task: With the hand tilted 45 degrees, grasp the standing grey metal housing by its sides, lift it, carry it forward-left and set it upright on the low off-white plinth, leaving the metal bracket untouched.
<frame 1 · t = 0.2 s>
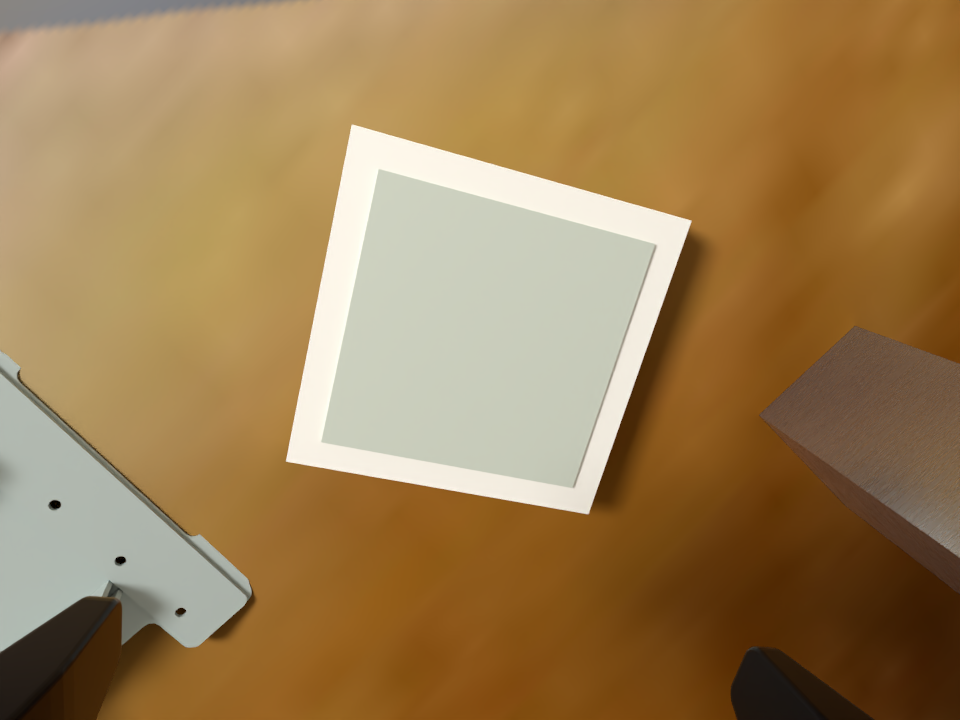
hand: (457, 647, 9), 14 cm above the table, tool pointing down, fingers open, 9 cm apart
housing: (850, 420, 26), on the table
plinth: (477, 327, 22), on the table
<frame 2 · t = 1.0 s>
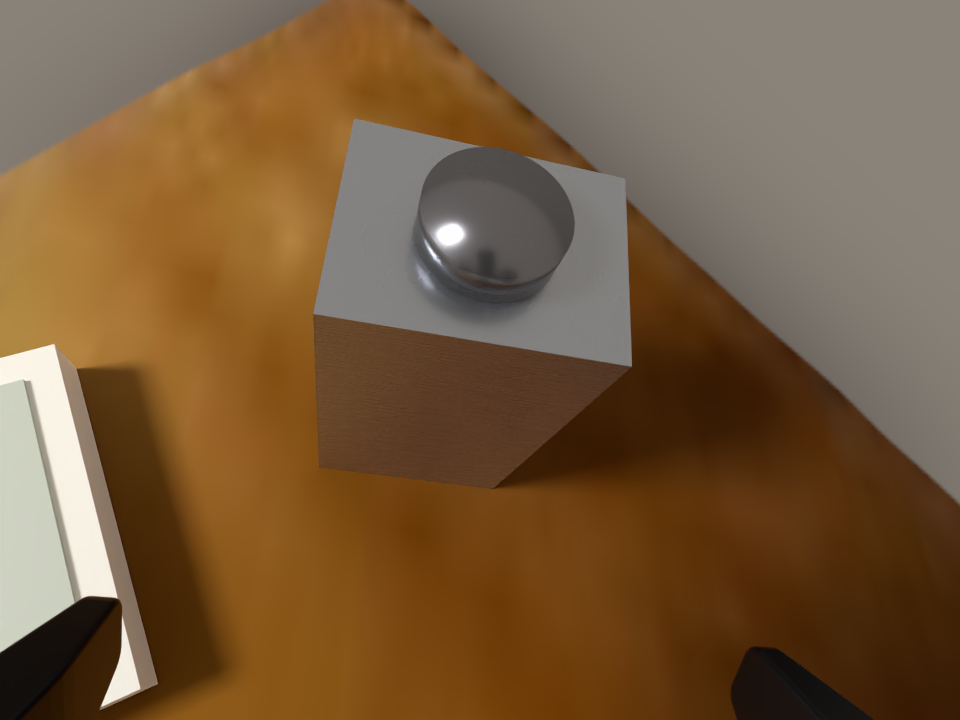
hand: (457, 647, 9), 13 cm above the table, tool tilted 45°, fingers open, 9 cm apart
housing: (415, 414, 24), on the table
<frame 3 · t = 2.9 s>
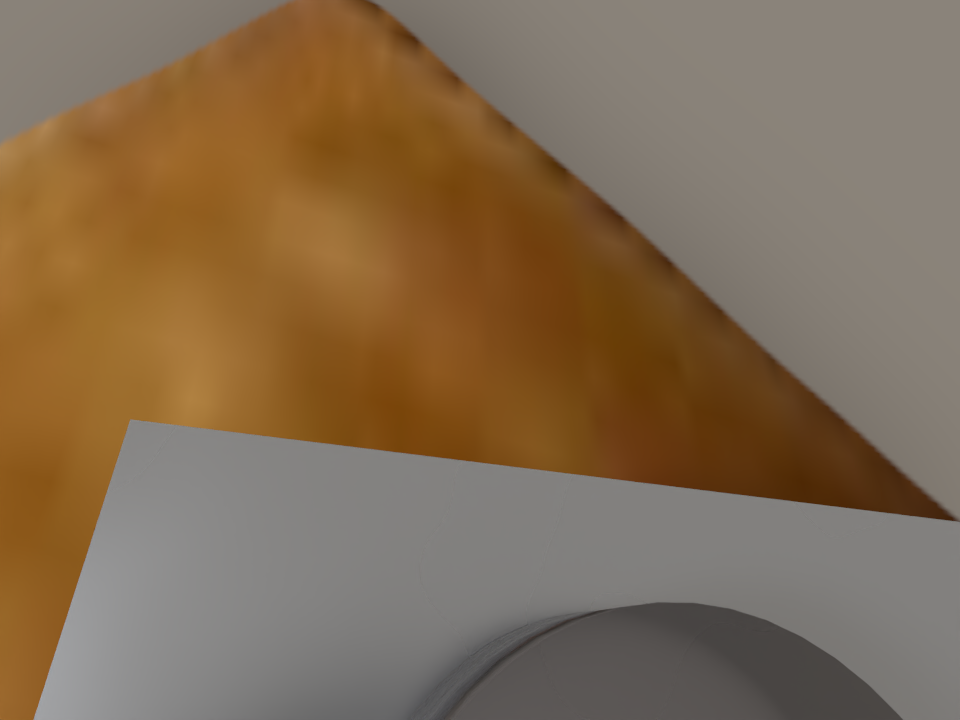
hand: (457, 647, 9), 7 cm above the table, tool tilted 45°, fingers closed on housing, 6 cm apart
housing: (396, 714, 14), on the table, touching gripper
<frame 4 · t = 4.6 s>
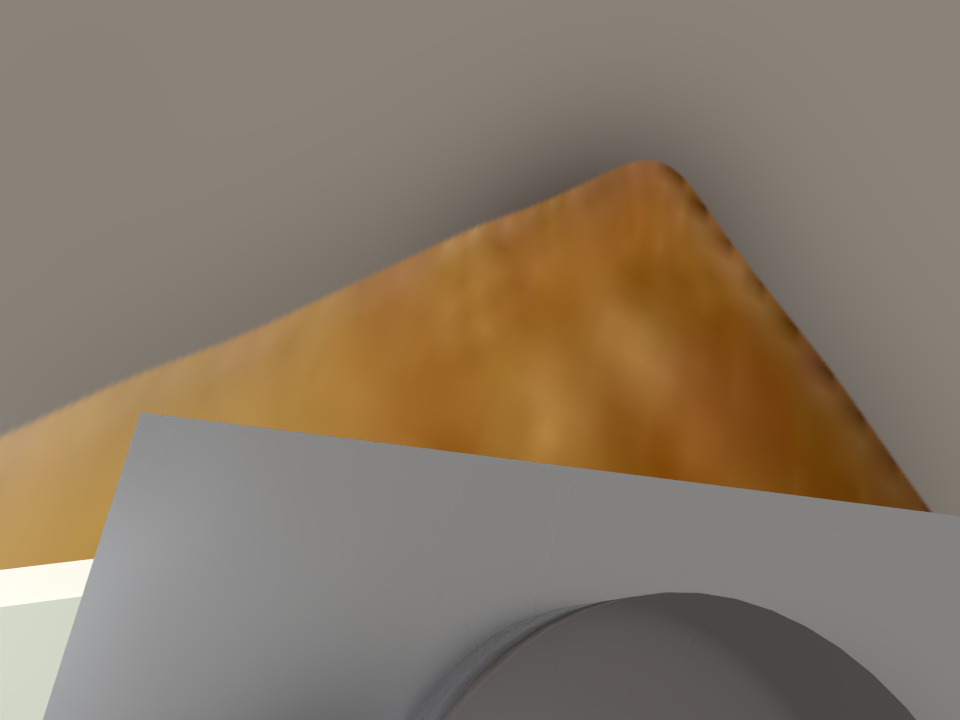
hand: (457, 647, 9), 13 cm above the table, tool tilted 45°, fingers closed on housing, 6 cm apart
housing: (398, 711, 14), point 7 cm above the table, touching gripper
when the fingers open (10 cm above the table, at t = 6.2 s): housing drops 1 cm, resting on plinth.
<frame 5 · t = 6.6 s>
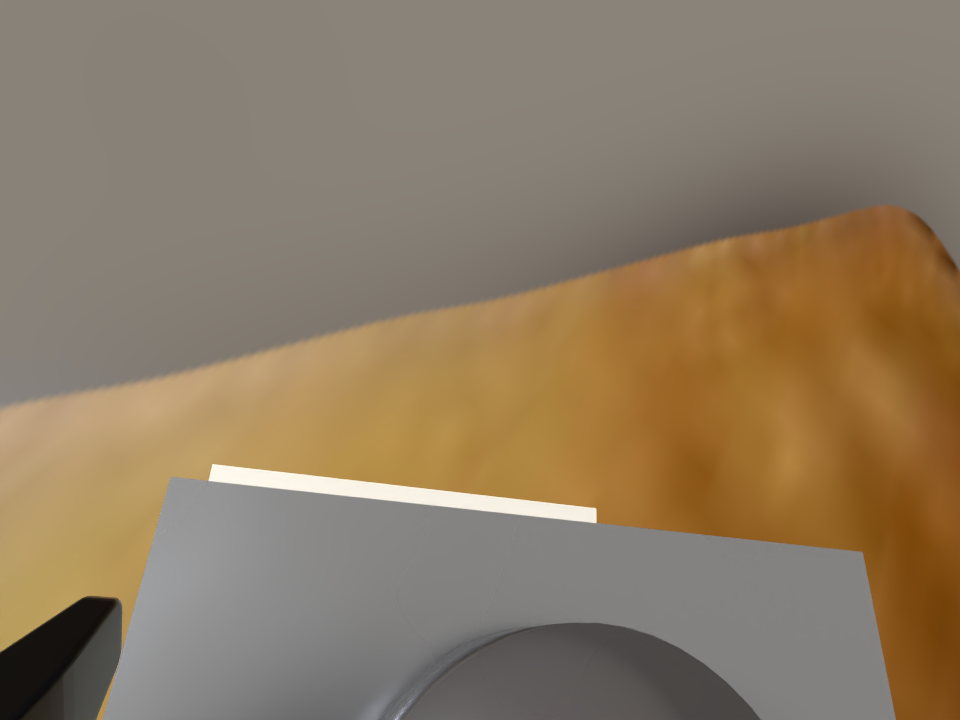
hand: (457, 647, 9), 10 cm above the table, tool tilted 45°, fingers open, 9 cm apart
housing: (390, 709, 15), point 2 cm above the table, touching plinth
plinth: (384, 701, 17), on the table
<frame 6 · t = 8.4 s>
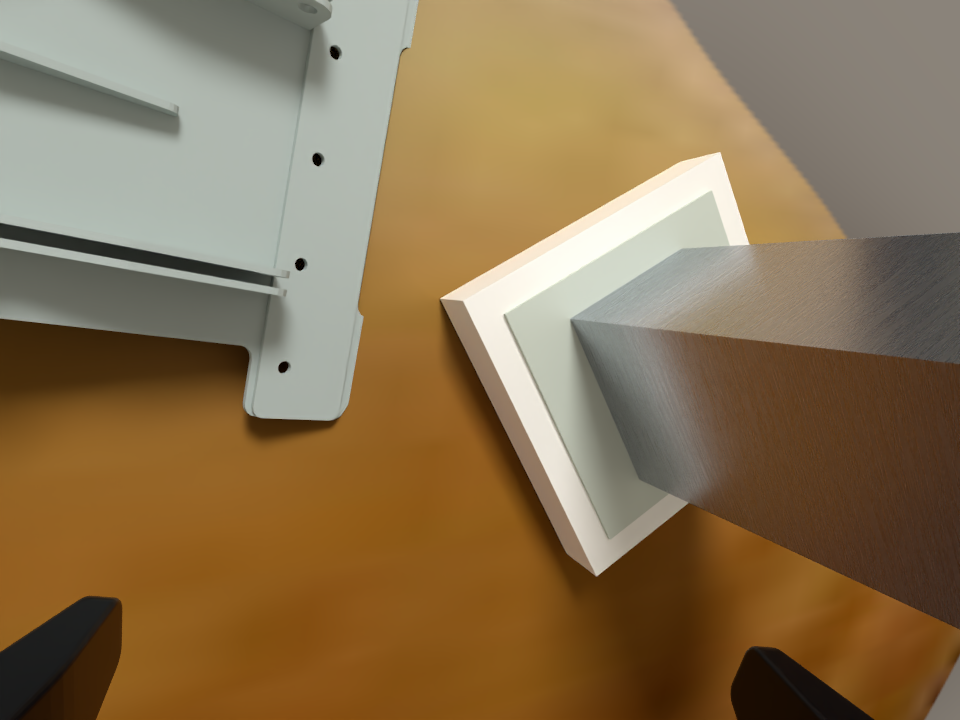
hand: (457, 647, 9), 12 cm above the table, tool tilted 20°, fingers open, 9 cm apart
housing: (660, 365, 22), point 2 cm above the table, touching plinth
metal bracket: (155, 126, 17), on the table
plinth: (623, 358, 24), on the table
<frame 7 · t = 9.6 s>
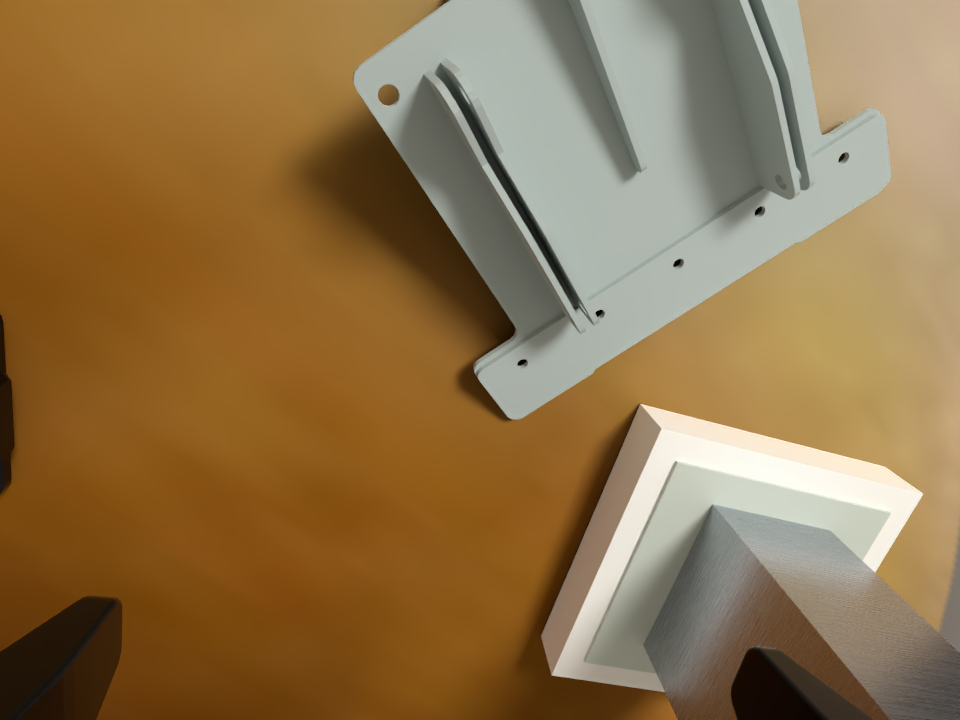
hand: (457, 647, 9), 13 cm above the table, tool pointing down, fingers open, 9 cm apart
housing: (734, 588, 23), point 2 cm above the table, touching plinth
metal bracket: (603, 147, 20), on the table
plinth: (709, 552, 25), on the table
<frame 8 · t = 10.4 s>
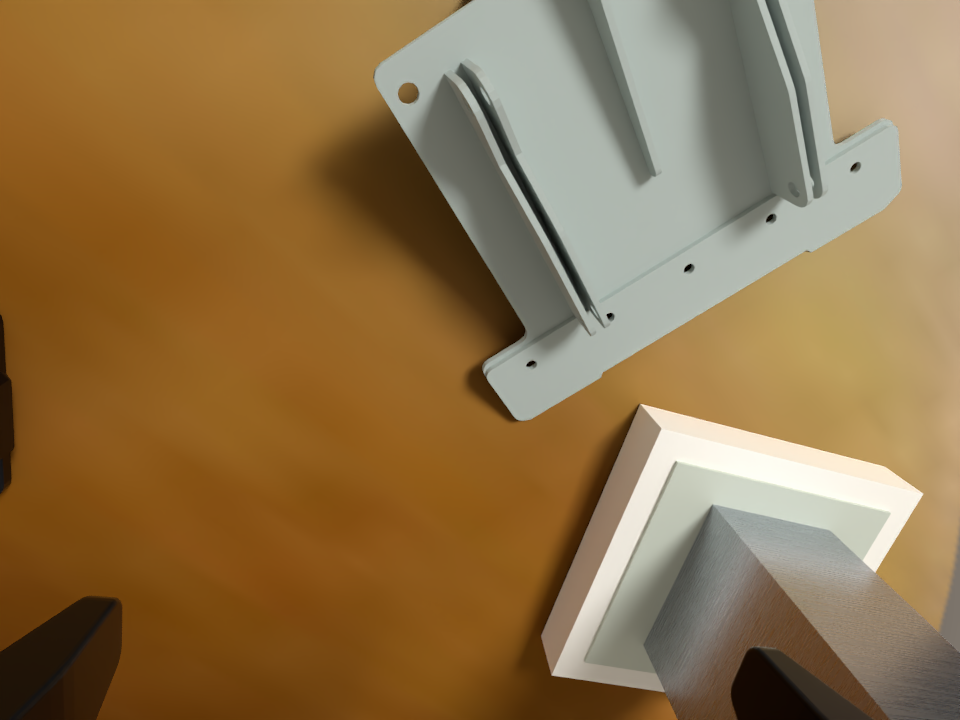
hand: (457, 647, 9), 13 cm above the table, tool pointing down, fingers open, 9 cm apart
housing: (734, 588, 23), point 2 cm above the table, touching plinth
metal bracket: (617, 151, 20), on the table
plinth: (709, 552, 25), on the table
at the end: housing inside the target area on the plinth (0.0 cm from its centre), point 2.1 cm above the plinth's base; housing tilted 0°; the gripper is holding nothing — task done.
